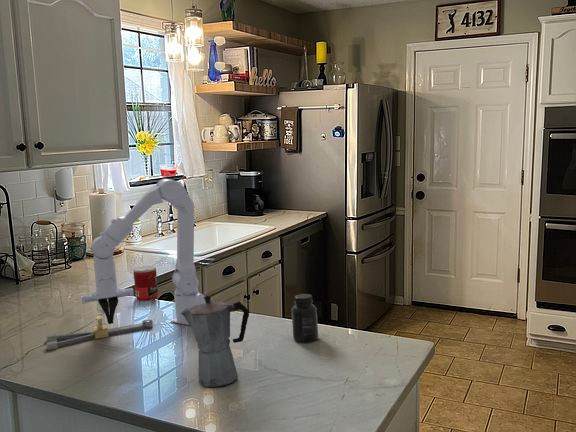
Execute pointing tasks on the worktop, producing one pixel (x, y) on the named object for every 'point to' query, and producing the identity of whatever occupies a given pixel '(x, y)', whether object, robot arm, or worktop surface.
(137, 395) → the worktop surface
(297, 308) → the supplement bottle
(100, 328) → the collar
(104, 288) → the robot arm
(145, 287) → the canned food
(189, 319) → the moka pot
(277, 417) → the worktop surface
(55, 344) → the grey long bar part
